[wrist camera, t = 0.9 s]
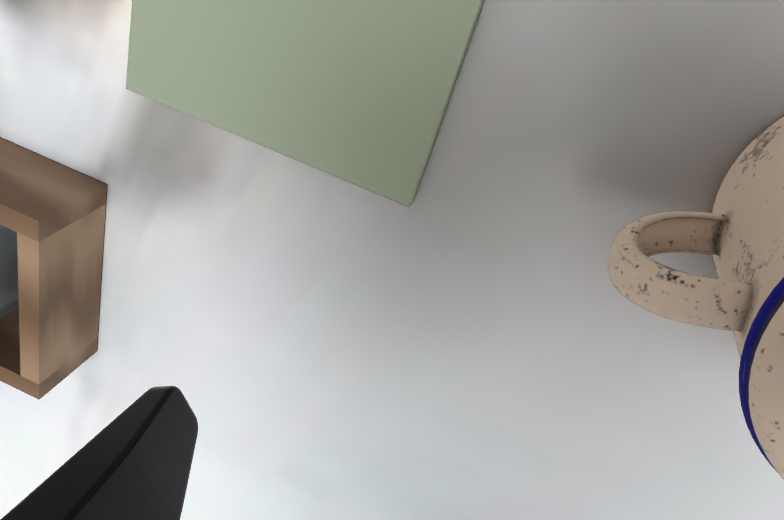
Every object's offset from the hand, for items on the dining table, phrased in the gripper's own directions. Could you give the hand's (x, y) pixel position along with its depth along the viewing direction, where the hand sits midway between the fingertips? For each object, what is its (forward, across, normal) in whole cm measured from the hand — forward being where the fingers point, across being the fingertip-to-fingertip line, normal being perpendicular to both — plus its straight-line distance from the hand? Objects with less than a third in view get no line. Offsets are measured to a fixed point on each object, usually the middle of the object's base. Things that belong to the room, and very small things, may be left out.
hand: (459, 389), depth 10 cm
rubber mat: (+16, +6, -2) cm, 17 cm away
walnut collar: (+17, +23, +7) cm, 30 cm away
